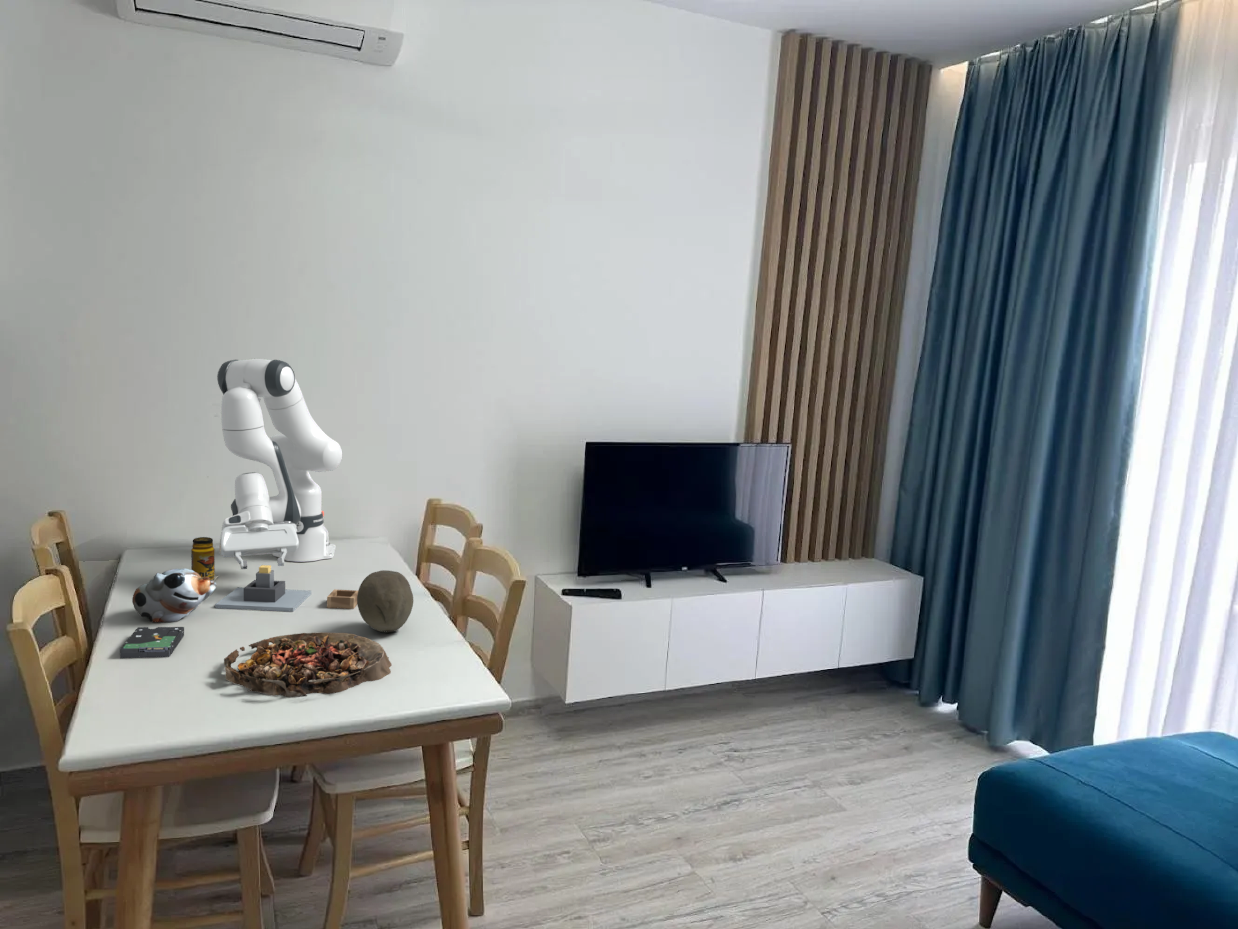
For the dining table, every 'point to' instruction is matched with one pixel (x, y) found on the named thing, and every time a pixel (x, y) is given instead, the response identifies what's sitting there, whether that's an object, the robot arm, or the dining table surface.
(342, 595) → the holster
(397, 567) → the dining table surface
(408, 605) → the grey brown round stone
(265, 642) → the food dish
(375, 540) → the dining table surface
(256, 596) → the port
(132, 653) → the disk drive
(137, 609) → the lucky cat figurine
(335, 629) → the dining table surface
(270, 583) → the plug
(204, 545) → the condiment
